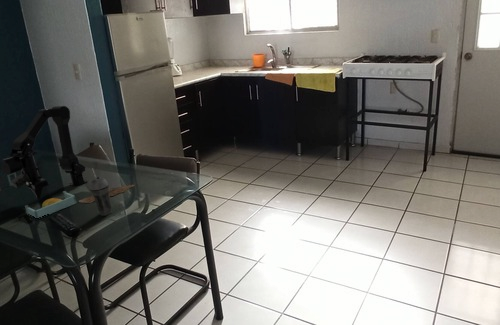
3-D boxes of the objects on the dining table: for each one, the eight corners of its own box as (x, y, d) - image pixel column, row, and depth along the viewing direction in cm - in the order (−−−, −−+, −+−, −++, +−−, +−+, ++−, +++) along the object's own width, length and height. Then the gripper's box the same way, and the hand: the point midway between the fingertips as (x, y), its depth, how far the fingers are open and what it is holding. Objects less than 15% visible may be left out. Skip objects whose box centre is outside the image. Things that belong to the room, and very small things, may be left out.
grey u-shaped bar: (27, 214, 176) (24, 205, 175) (67, 198, 188) (64, 190, 187) (36, 219, 169) (33, 210, 168) (77, 203, 182) (74, 194, 180)
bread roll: (53, 203, 186) (51, 194, 184) (67, 204, 182) (65, 196, 181) (38, 210, 179) (35, 202, 178) (52, 212, 175) (49, 204, 174)
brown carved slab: (80, 206, 178) (80, 204, 177) (76, 199, 187) (76, 197, 186) (138, 189, 190) (138, 187, 189) (131, 183, 199) (131, 181, 198)
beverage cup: (118, 209, 169) (107, 164, 163) (107, 217, 163) (95, 170, 156) (104, 208, 172) (93, 164, 165) (93, 216, 165) (80, 170, 159)
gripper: (2, 169, 182) (12, 201, 188) (18, 176, 170) (29, 209, 175) (27, 161, 190) (37, 192, 195) (44, 167, 178) (54, 199, 183)
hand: (38, 198), depth 187 cm, fingers closed
